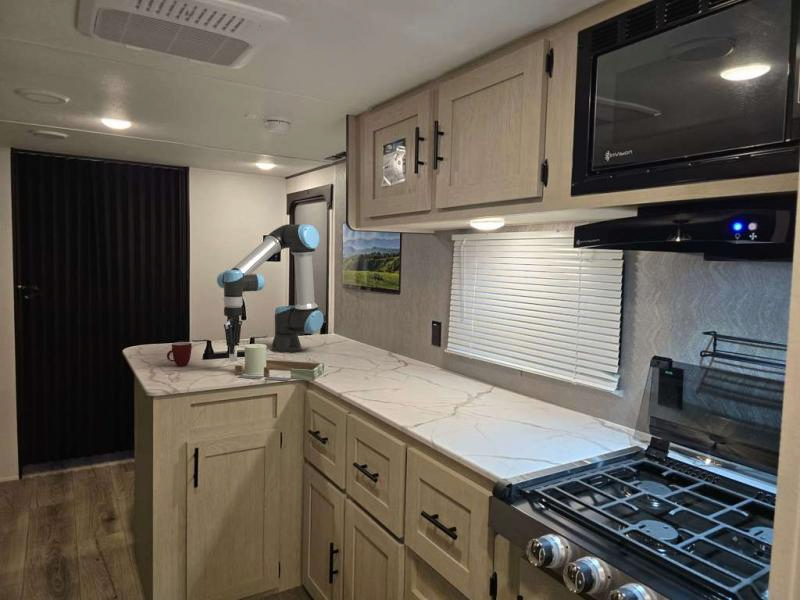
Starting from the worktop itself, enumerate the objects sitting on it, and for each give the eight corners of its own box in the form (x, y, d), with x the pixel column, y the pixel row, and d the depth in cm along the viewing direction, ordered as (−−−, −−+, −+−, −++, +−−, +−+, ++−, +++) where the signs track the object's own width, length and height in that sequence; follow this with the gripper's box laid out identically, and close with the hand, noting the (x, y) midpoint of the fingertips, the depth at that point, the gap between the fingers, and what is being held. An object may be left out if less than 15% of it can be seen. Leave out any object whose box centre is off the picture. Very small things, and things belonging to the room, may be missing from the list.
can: (253, 376, 223) (253, 347, 222) (239, 372, 228) (239, 344, 227) (271, 372, 230) (271, 344, 229) (257, 368, 236) (257, 341, 235)
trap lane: (249, 367, 237) (249, 358, 237) (323, 372, 232) (323, 363, 232) (235, 375, 223) (235, 365, 223) (314, 380, 219) (314, 370, 218)
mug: (173, 369, 229) (173, 346, 228) (163, 366, 234) (162, 344, 233) (195, 365, 238) (195, 343, 237) (184, 362, 243) (184, 341, 242)
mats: (241, 375, 223) (241, 374, 223) (290, 378, 220) (290, 378, 220) (237, 377, 219) (237, 377, 219) (287, 381, 216) (287, 380, 216)
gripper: (231, 304, 235) (231, 357, 237) (217, 307, 222) (217, 363, 224) (248, 305, 234) (247, 358, 236) (234, 308, 221) (234, 364, 223)
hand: (233, 360), depth 230 cm, fingers closed
